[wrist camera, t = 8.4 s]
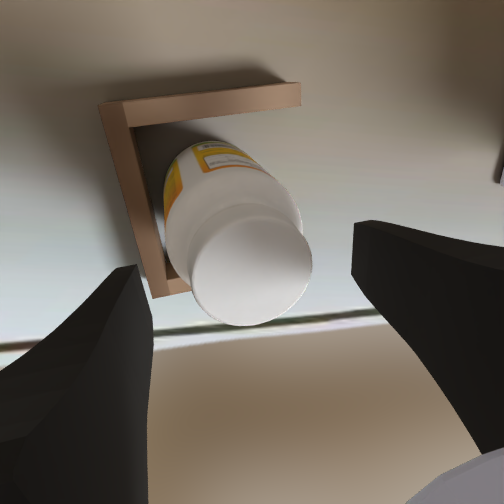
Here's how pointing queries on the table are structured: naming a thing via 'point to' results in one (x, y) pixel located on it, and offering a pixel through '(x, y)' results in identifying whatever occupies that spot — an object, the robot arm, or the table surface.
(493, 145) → the table surface
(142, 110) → the bay
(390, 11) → the table surface
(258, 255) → the supplement bottle
